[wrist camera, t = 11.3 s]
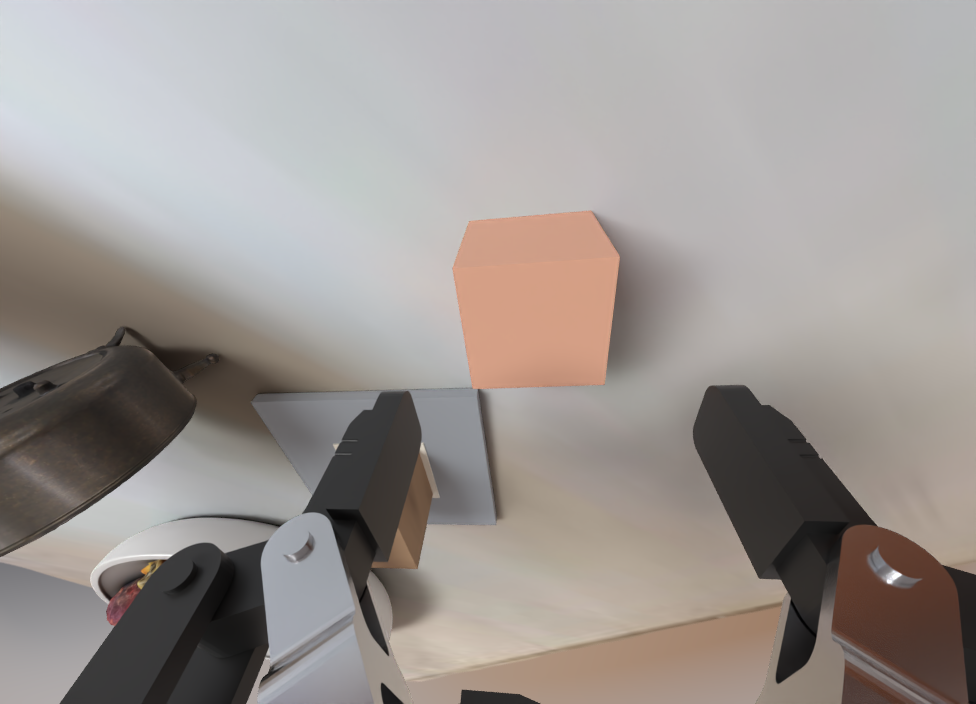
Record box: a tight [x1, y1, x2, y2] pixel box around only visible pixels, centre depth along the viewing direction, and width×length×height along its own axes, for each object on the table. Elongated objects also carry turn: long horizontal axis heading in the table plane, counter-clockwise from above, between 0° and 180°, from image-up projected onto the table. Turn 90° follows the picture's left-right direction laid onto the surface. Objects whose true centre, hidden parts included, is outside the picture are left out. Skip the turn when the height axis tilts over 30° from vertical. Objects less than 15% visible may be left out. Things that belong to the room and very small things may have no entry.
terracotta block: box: [453, 211, 620, 389], centre depth 16 cm, size 6×6×6 cm
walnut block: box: [371, 453, 433, 569], centre depth 25 cm, size 6×6×6 cm
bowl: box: [90, 518, 393, 660], centre depth 39 cm, size 30×30×8 cm
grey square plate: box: [251, 388, 497, 525], centre depth 27 cm, size 15×15×1 cm
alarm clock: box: [0, 327, 219, 557], centre depth 16 cm, size 11×5×16 cm, turn 107°
